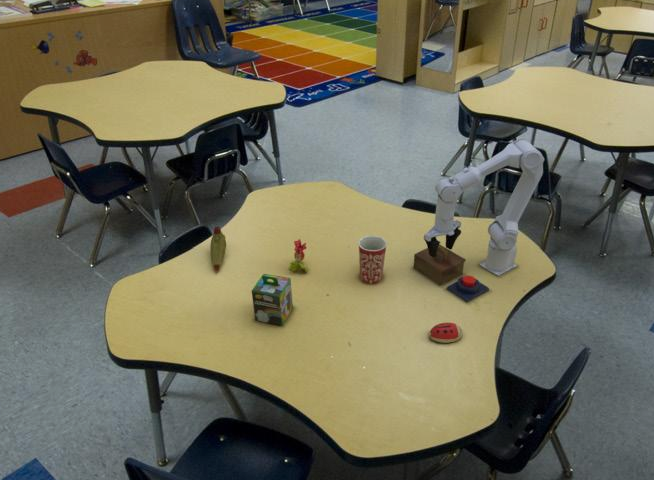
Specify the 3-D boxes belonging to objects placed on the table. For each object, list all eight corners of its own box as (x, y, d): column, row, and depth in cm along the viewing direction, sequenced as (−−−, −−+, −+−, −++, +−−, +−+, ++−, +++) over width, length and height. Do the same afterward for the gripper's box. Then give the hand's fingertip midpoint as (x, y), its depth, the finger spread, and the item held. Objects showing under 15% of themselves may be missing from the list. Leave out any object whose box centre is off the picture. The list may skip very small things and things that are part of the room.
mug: (384, 286, 188) (386, 251, 181) (356, 284, 189) (357, 249, 182) (386, 264, 198) (387, 230, 191) (359, 262, 199) (360, 229, 192)
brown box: (435, 258, 201) (436, 245, 198) (462, 274, 192) (464, 261, 190) (413, 268, 196) (414, 255, 193) (440, 286, 187) (441, 272, 185)
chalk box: (293, 308, 179) (291, 268, 171) (282, 326, 172) (279, 286, 164) (265, 302, 182) (262, 263, 174) (253, 320, 174) (249, 280, 167)
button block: (468, 278, 191) (469, 270, 189) (488, 290, 185) (489, 283, 183) (446, 289, 186) (447, 281, 184) (467, 302, 180) (468, 295, 178)
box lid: (437, 244, 199) (438, 234, 196) (465, 260, 190) (466, 250, 188) (414, 255, 193) (415, 245, 191) (441, 272, 185) (443, 262, 182)
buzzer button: (468, 278, 186) (468, 273, 185) (477, 284, 183) (478, 279, 182) (459, 282, 184) (459, 278, 183) (469, 288, 181) (469, 284, 180)
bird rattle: (289, 268, 201) (288, 274, 192) (289, 236, 199) (287, 240, 190) (307, 268, 201) (307, 274, 192) (307, 236, 199) (306, 240, 190)
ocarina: (224, 274, 195) (221, 248, 190) (208, 274, 195) (205, 249, 190) (228, 242, 212) (225, 218, 207) (213, 242, 212) (210, 219, 207)
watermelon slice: (466, 341, 165) (467, 331, 163) (433, 347, 163) (434, 337, 161) (456, 326, 171) (457, 316, 169) (424, 331, 169) (425, 322, 167)
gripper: (437, 228, 177) (433, 265, 184) (470, 214, 184) (465, 250, 191) (421, 219, 182) (417, 255, 189) (453, 205, 189) (449, 241, 196)
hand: (440, 252), depth 190 cm, fingers open, 7 cm apart
